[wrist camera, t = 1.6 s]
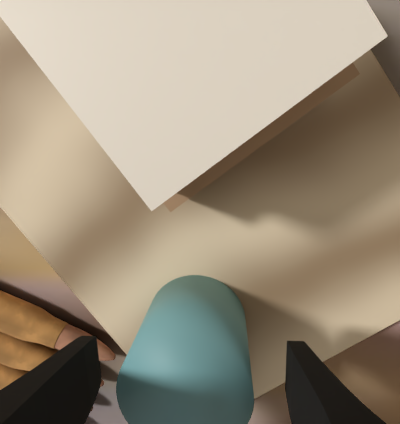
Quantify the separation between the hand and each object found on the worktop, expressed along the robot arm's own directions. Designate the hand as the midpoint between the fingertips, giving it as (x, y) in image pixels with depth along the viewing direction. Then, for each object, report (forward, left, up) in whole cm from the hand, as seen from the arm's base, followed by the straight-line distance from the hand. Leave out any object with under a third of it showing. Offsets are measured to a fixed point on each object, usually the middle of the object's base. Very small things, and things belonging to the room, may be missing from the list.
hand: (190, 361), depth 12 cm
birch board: (+5, -4, -4) cm, 7 cm away
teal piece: (0, 0, -3) cm, 3 cm away
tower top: (+8, -6, 0) cm, 11 cm away
